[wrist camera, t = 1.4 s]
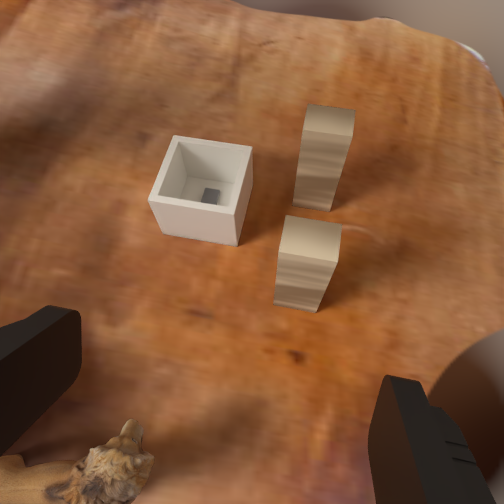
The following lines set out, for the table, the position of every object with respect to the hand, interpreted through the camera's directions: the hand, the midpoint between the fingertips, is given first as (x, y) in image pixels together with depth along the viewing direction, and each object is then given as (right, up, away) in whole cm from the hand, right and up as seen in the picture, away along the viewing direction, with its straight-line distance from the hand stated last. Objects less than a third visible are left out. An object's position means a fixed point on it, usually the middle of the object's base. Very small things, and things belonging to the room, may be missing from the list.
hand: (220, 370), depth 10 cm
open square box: (-4, +8, +31) cm, 32 cm away
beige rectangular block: (+7, +9, +31) cm, 33 cm away
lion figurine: (-12, -14, +20) cm, 27 cm away
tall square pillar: (+5, -1, +26) cm, 27 cm away
